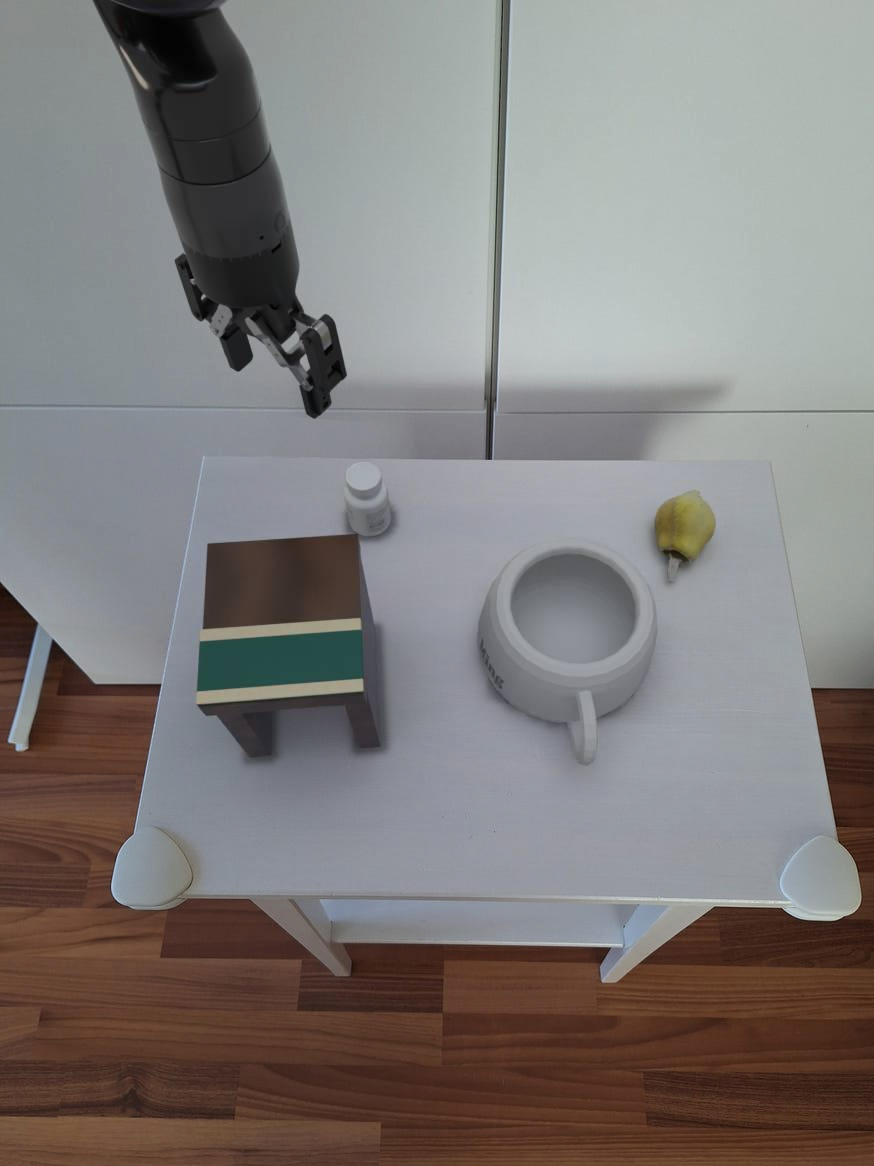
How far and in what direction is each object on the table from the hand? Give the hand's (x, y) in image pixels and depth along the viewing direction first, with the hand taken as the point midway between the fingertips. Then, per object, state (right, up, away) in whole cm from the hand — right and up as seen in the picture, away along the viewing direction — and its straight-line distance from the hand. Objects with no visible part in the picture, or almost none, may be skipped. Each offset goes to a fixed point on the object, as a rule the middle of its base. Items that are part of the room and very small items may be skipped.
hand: (280, 387), depth 68 cm
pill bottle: (+5, -9, +16) cm, 19 cm away
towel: (+2, -23, -8) cm, 25 cm away
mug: (+25, -25, +10) cm, 37 cm away
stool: (+1, -26, +8) cm, 28 cm away
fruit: (+38, -12, +16) cm, 43 cm away
